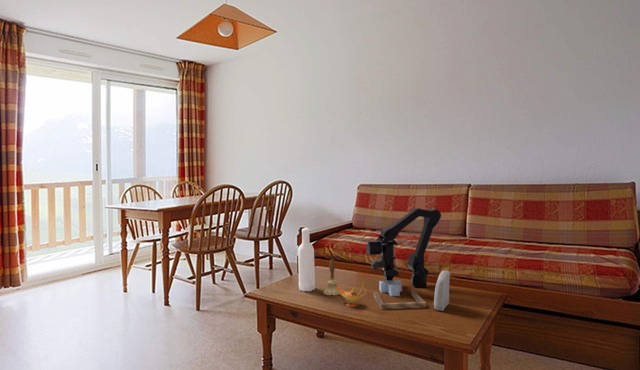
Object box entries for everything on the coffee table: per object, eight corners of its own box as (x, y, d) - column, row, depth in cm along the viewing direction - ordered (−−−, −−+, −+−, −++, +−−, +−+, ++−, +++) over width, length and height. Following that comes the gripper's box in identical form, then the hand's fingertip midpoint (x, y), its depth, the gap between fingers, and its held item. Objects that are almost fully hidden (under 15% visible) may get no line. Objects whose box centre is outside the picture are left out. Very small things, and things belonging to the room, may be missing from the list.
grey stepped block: (399, 288, 186) (399, 280, 185) (406, 295, 176) (405, 286, 175) (379, 289, 185) (379, 280, 184) (384, 296, 175) (384, 287, 175)
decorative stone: (446, 312, 154) (445, 275, 153) (431, 310, 157) (430, 274, 156) (451, 304, 163) (450, 269, 163) (436, 302, 166) (436, 268, 166)
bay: (414, 294, 176) (414, 290, 176) (426, 307, 160) (426, 302, 160) (373, 296, 175) (373, 292, 175) (381, 309, 159) (381, 304, 159)
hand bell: (343, 291, 184) (342, 258, 183) (337, 296, 176) (336, 262, 176) (327, 289, 187) (327, 257, 187) (320, 294, 180) (320, 260, 179)
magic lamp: (337, 297, 175) (336, 273, 174) (370, 305, 163) (370, 280, 163) (327, 301, 169) (327, 277, 169) (361, 310, 158) (361, 284, 158)
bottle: (314, 286, 192) (313, 227, 191) (315, 291, 185) (313, 229, 184) (299, 287, 192) (297, 227, 191) (298, 291, 184) (297, 230, 183)
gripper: (368, 250, 195) (368, 280, 196) (375, 258, 177) (375, 292, 177) (390, 249, 196) (390, 280, 196) (398, 258, 177) (399, 291, 178)
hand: (388, 285), depth 187 cm, fingers closed
